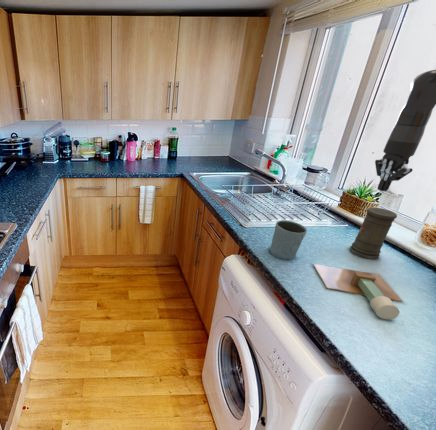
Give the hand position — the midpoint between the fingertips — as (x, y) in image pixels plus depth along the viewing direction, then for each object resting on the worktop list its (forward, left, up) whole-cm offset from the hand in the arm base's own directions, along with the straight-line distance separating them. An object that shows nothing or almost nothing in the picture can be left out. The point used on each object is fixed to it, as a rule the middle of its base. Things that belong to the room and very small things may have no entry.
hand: (381, 190), depth 99 cm
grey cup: (+26, +7, -27) cm, 38 cm away
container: (-5, -4, -27) cm, 28 cm away
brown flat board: (+7, +19, -27) cm, 34 cm away
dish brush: (+6, +20, -24) cm, 32 cm away
